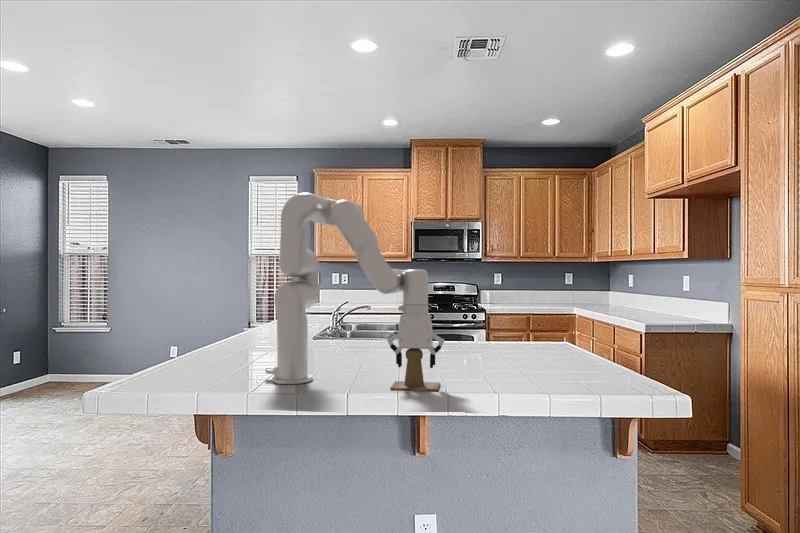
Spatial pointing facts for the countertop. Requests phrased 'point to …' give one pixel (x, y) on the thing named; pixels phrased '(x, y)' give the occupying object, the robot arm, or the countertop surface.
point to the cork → (414, 368)
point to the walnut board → (427, 387)
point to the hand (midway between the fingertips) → (415, 366)
